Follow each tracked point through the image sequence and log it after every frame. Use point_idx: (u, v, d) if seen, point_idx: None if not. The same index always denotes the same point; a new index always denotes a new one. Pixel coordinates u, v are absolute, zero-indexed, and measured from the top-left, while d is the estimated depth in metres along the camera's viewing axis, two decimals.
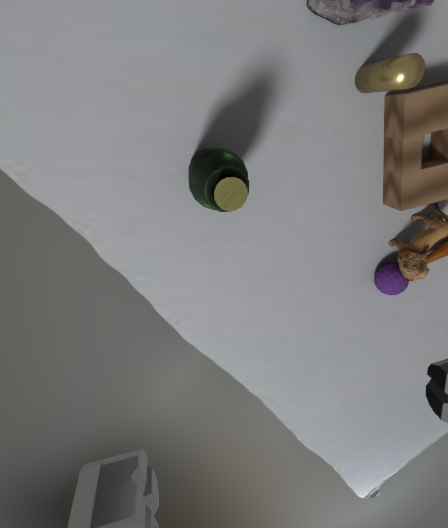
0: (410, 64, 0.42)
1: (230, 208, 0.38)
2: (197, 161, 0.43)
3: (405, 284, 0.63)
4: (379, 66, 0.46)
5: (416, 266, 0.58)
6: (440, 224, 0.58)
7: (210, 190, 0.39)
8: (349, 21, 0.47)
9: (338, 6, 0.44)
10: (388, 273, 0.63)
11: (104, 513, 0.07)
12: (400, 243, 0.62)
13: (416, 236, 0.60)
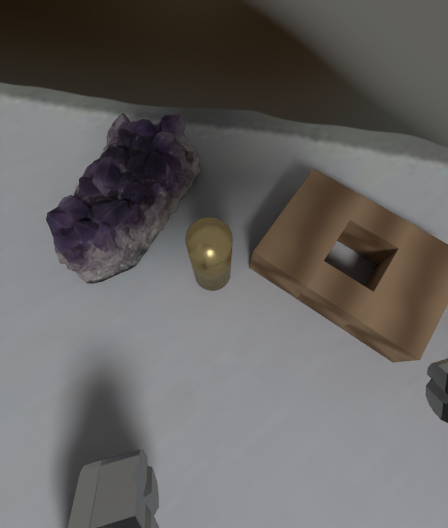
0: (201, 234, 0.28)
1: None
2: None
3: None
4: None
5: None
6: None
7: None
8: (138, 255, 0.37)
9: (100, 261, 0.34)
10: None
11: (104, 512, 0.07)
12: None
13: None
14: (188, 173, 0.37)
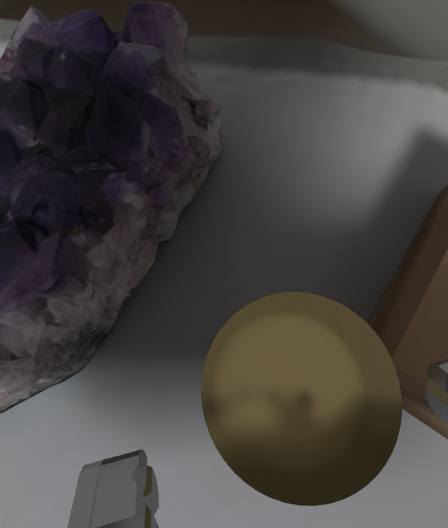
0: (266, 367, 0.07)
1: None
2: None
3: None
4: None
5: None
6: None
7: None
8: (87, 348, 0.16)
9: None
10: None
11: (104, 513, 0.07)
12: None
13: None
14: (200, 150, 0.15)
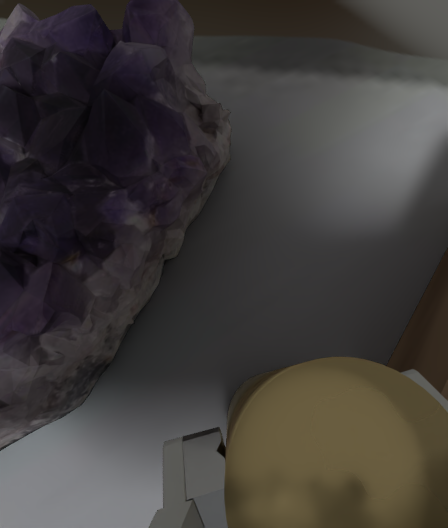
0: (309, 462, 0.05)
1: None
2: None
3: None
4: None
5: None
6: None
7: None
8: (86, 382, 0.14)
9: None
10: None
11: (198, 484, 0.07)
12: None
13: None
14: (209, 161, 0.14)
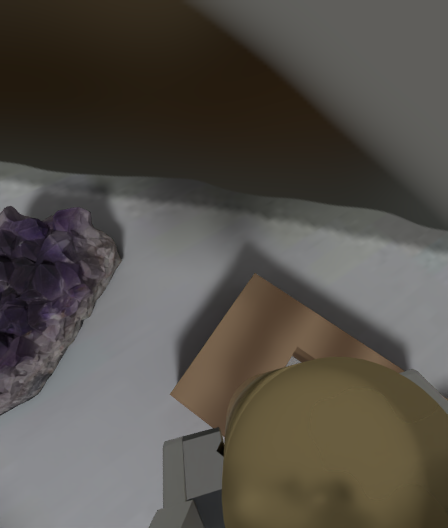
0: (306, 463, 0.05)
1: None
2: None
3: None
4: None
5: None
6: None
7: None
8: (39, 383, 0.29)
9: None
10: None
11: (198, 484, 0.07)
12: None
13: None
14: (97, 277, 0.29)
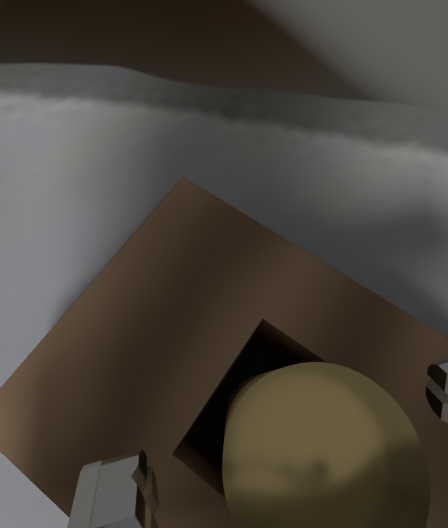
0: (289, 446, 0.07)
1: None
2: None
3: None
4: None
5: None
6: None
7: None
8: None
9: None
10: None
11: (104, 512, 0.07)
12: None
13: None
14: None
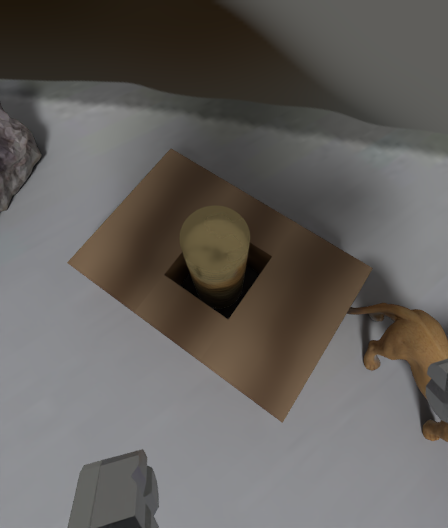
0: (203, 230, 0.19)
1: None
2: None
3: None
4: None
5: None
6: (403, 343, 0.21)
7: None
8: None
9: None
10: None
11: (104, 512, 0.07)
12: (439, 431, 0.22)
13: (426, 397, 0.22)
14: (2, 156, 0.28)
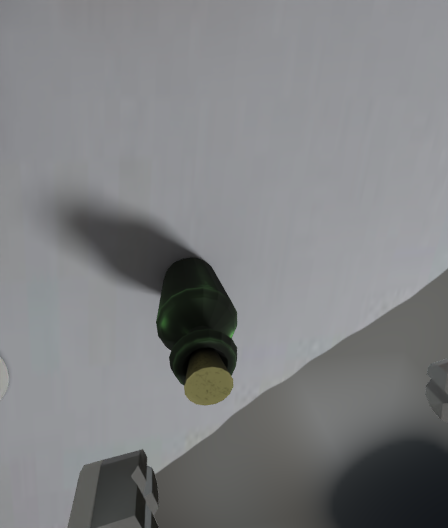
0: None
1: (229, 384, 0.26)
2: None
3: None
4: None
5: None
6: None
7: None
8: None
9: None
10: None
11: (104, 513, 0.07)
12: None
13: None
14: None
